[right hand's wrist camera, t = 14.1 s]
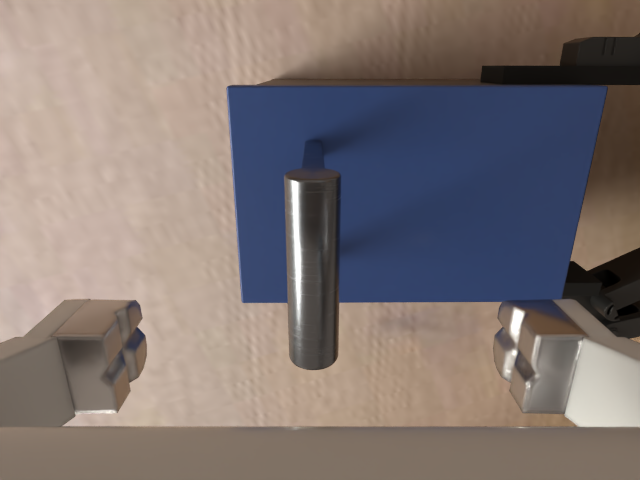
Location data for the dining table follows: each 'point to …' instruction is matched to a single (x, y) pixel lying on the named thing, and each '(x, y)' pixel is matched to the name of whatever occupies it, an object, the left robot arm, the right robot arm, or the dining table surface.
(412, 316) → the dining table surface
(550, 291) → the lid
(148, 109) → the dining table surface
